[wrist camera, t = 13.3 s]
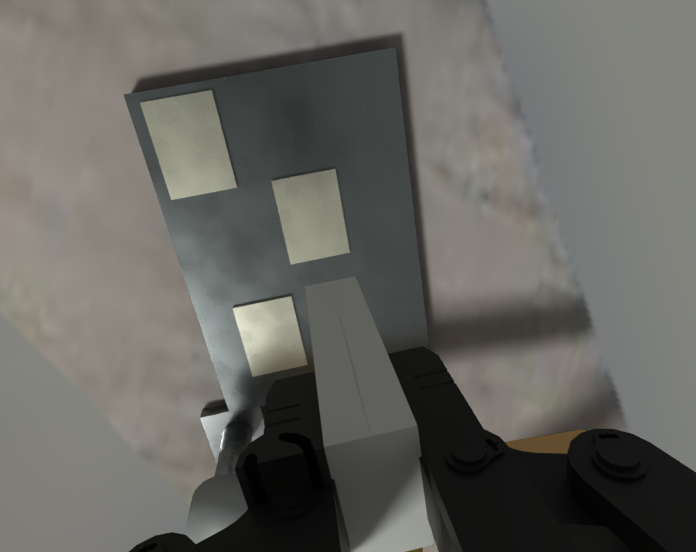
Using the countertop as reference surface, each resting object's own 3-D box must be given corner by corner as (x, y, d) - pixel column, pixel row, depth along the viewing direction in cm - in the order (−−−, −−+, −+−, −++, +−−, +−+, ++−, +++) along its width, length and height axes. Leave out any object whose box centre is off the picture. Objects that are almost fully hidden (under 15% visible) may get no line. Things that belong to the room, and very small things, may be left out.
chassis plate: (129, 95, 23) (122, 94, 22) (391, 49, 24) (396, 46, 23) (231, 403, 31) (229, 415, 30) (427, 360, 32) (432, 369, 30)
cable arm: (199, 532, 26) (192, 568, 24) (185, 480, 25) (176, 514, 23) (576, 467, 28) (598, 495, 26) (583, 416, 27) (608, 441, 25)
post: (202, 410, 31) (183, 479, 25) (259, 397, 31) (254, 463, 25) (218, 454, 32) (204, 529, 26) (273, 442, 32) (270, 513, 27)
